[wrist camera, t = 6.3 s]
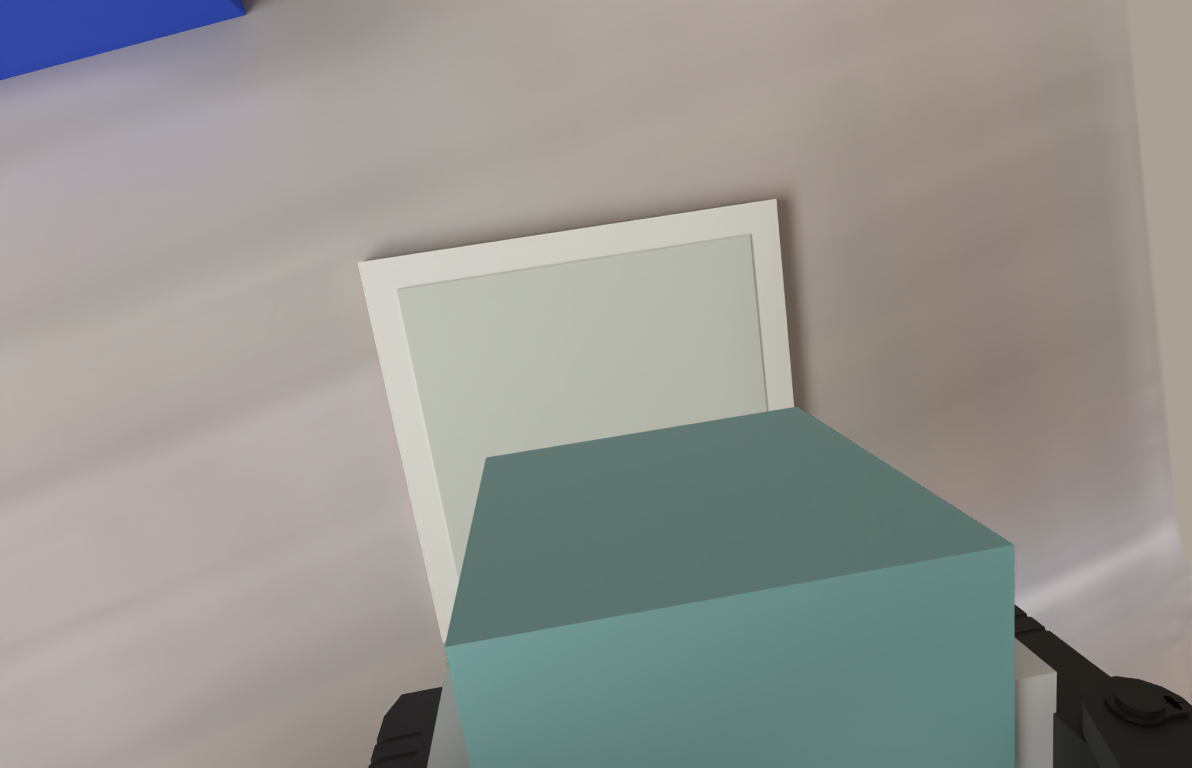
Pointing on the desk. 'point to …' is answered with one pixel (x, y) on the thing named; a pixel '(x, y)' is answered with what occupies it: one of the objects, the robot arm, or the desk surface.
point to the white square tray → (571, 349)
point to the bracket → (94, 27)
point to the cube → (729, 608)
